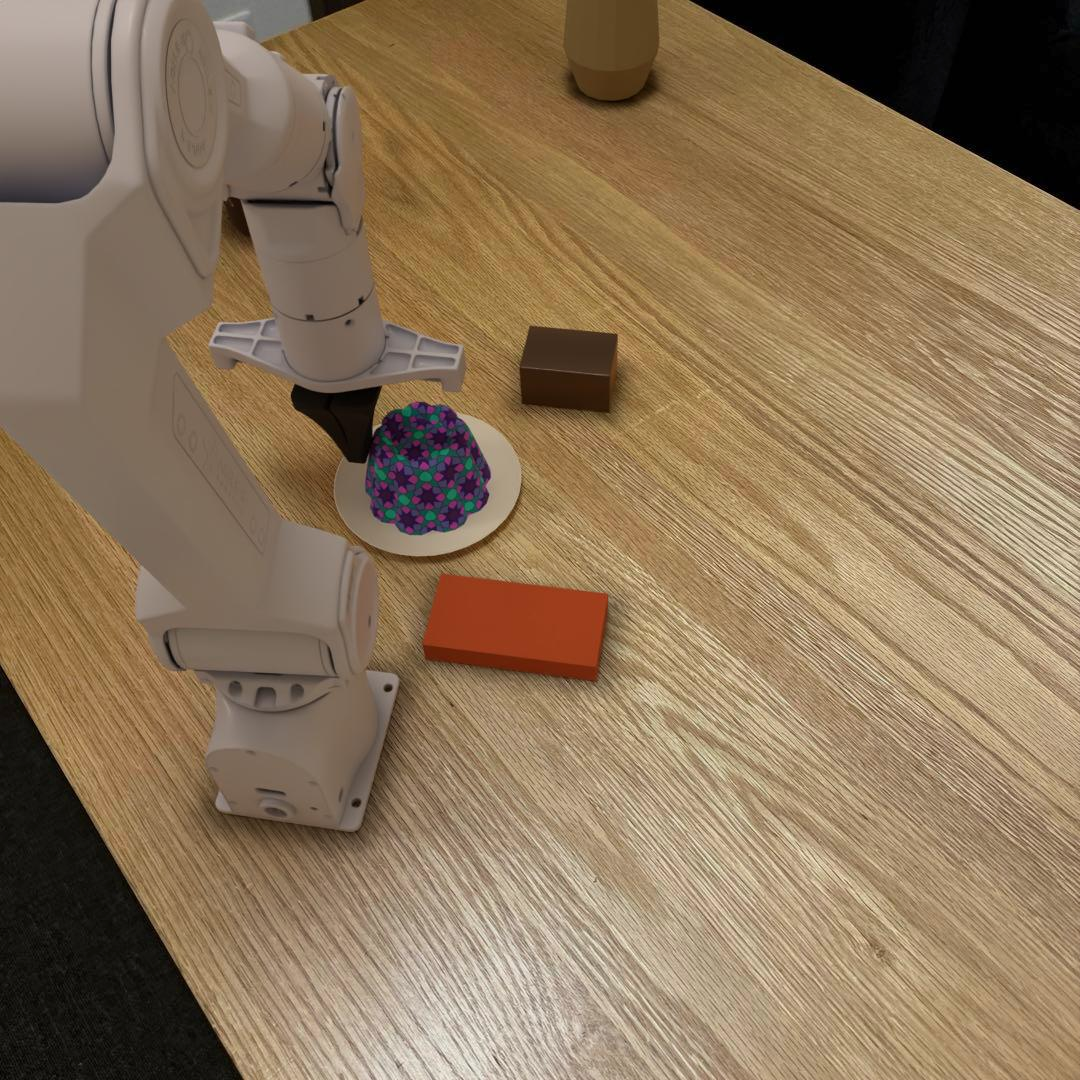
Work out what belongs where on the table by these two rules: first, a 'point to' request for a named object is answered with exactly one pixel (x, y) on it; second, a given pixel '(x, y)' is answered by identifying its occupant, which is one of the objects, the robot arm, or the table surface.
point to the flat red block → (516, 626)
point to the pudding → (429, 482)
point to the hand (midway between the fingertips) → (360, 451)
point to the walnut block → (569, 368)
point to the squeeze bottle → (611, 45)
